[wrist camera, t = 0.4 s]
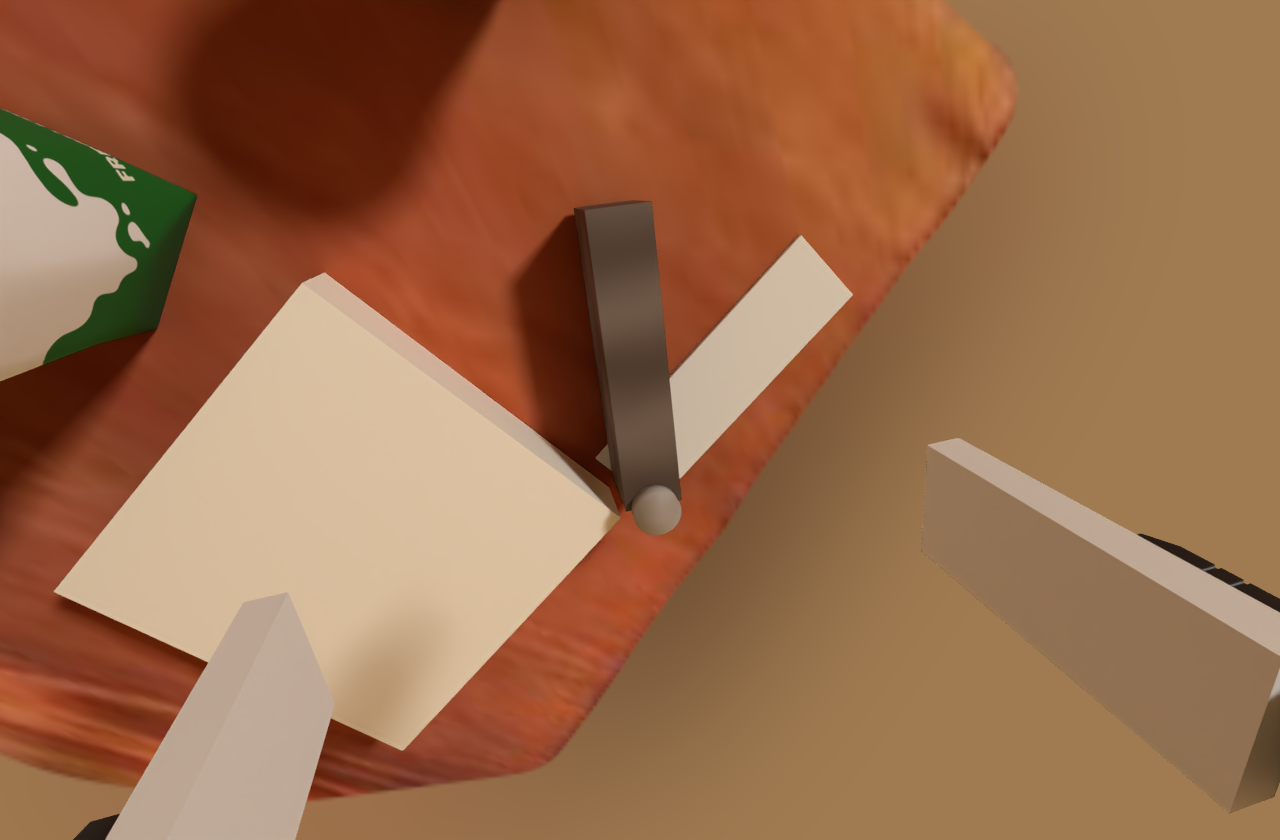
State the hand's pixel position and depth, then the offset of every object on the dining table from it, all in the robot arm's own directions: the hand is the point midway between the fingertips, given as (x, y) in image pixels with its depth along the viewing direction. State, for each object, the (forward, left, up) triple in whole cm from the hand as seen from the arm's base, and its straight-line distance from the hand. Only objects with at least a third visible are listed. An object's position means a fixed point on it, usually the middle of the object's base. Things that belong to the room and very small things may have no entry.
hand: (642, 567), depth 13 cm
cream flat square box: (-1, -15, -25) cm, 29 cm away
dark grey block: (+4, +1, -24) cm, 24 cm away
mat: (+10, +5, -25) cm, 27 cm away
